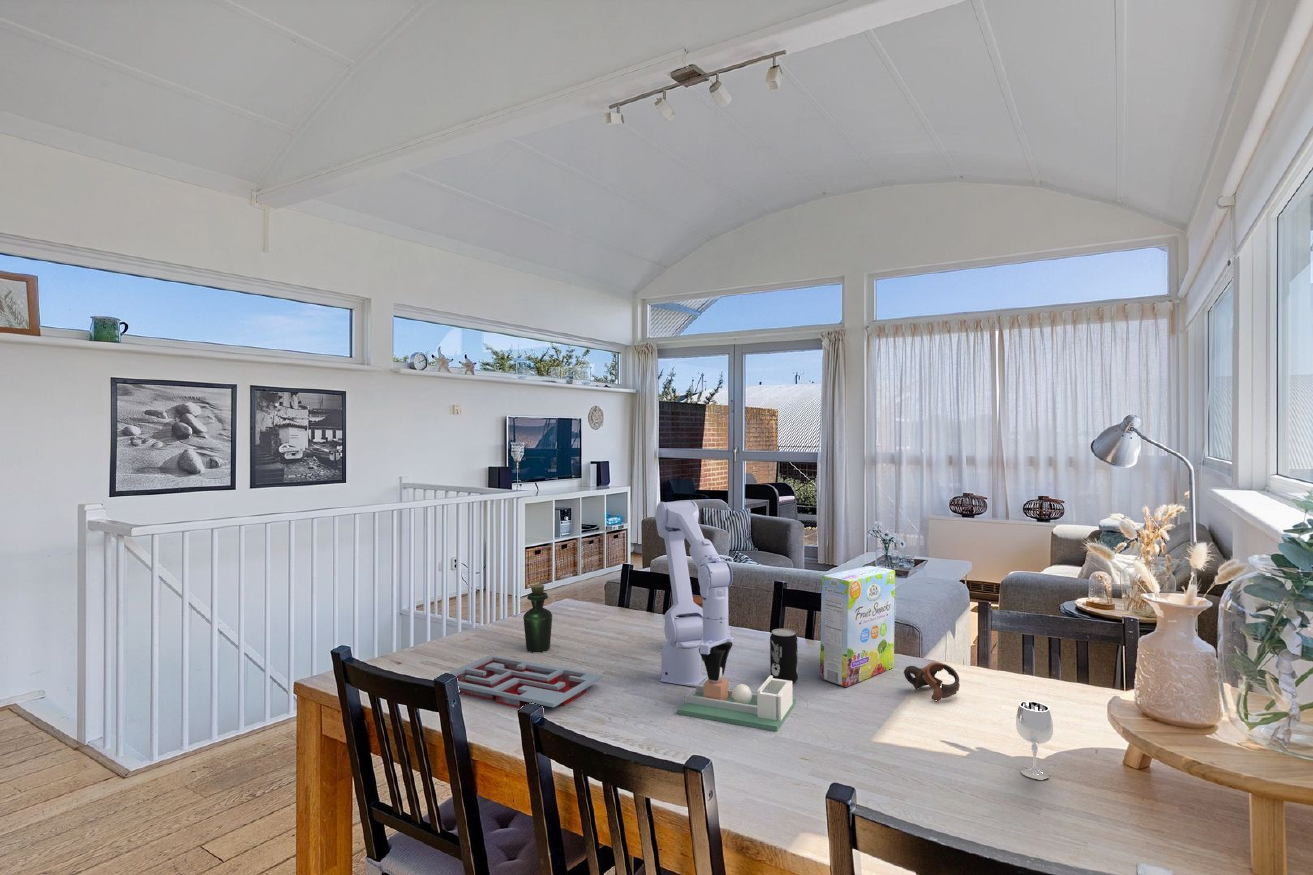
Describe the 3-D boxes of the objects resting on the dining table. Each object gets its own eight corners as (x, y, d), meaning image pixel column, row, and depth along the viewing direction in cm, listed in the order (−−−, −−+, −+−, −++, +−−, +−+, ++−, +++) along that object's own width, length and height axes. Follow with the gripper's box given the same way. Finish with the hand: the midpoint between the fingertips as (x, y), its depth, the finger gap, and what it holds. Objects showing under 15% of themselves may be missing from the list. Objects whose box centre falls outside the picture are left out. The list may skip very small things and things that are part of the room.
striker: (703, 701, 152) (703, 670, 152) (711, 693, 157) (711, 663, 157) (720, 704, 151) (720, 672, 151) (728, 696, 155) (727, 665, 155)
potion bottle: (538, 643, 201) (537, 581, 201) (558, 648, 196) (558, 585, 196) (517, 650, 194) (516, 586, 194) (538, 655, 190) (537, 590, 190)
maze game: (434, 691, 164) (434, 678, 164) (490, 667, 182) (489, 655, 182) (553, 718, 148) (553, 703, 148) (602, 688, 166) (602, 675, 166)
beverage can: (797, 686, 165) (797, 636, 165) (769, 684, 166) (769, 634, 166) (797, 676, 171) (797, 628, 171) (770, 675, 172) (770, 627, 172)
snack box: (849, 689, 162) (848, 580, 162) (818, 680, 169) (817, 575, 169) (897, 668, 177) (896, 568, 177) (867, 660, 183) (866, 563, 183)
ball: (729, 706, 150) (729, 686, 150) (735, 699, 154) (735, 680, 154) (748, 709, 148) (748, 689, 148) (754, 702, 152) (754, 682, 152)
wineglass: (1009, 767, 124) (1008, 700, 124) (1039, 765, 124) (1039, 699, 124) (1029, 783, 118) (1028, 713, 118) (1061, 781, 119) (1060, 711, 119)
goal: (757, 716, 145) (757, 690, 145) (770, 700, 154) (770, 675, 154) (780, 720, 142) (780, 693, 142) (792, 703, 152) (792, 678, 151)
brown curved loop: (952, 689, 163) (963, 665, 159) (952, 720, 156) (963, 696, 151) (900, 672, 167) (909, 648, 162) (897, 701, 159) (907, 677, 155)
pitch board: (677, 713, 149) (677, 702, 149) (703, 688, 163) (703, 678, 163) (777, 731, 140) (777, 719, 140) (795, 703, 154) (795, 692, 154)
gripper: (721, 626, 145) (722, 690, 145) (742, 610, 158) (743, 669, 159) (690, 623, 148) (691, 686, 148) (713, 607, 161) (714, 665, 162)
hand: (716, 677), depth 154 cm, fingers closed on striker, 3 cm apart
